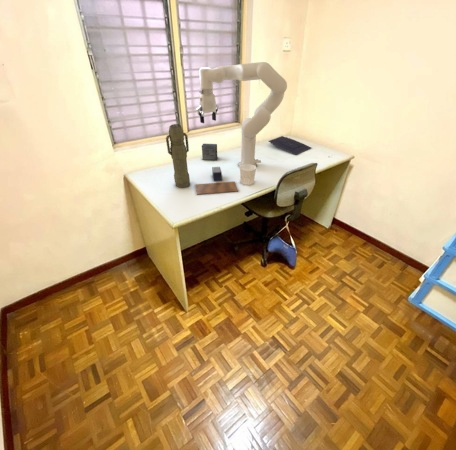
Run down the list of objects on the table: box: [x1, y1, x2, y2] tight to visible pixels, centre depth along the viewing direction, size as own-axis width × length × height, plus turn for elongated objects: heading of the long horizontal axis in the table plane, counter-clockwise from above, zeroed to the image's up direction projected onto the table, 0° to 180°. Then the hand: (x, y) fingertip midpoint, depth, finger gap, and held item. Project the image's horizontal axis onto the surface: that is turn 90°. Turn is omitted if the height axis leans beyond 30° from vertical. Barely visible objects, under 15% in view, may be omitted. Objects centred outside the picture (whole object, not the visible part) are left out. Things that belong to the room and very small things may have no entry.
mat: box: [195, 181, 239, 196], centre depth 150 cm, size 24×12×1 cm, turn 101°
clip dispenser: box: [211, 166, 223, 182], centre depth 160 cm, size 5×8×6 cm, turn 11°
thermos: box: [165, 123, 191, 189], centre depth 143 cm, size 9×12×35 cm
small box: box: [201, 143, 218, 161], centre depth 185 cm, size 11×6×10 cm, turn 84°
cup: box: [239, 164, 257, 186], centre depth 154 cm, size 10×10×10 cm
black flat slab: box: [268, 135, 312, 156], centre depth 210 cm, size 24×30×4 cm
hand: (208, 121), depth 161 cm, fingers open, 9 cm apart
